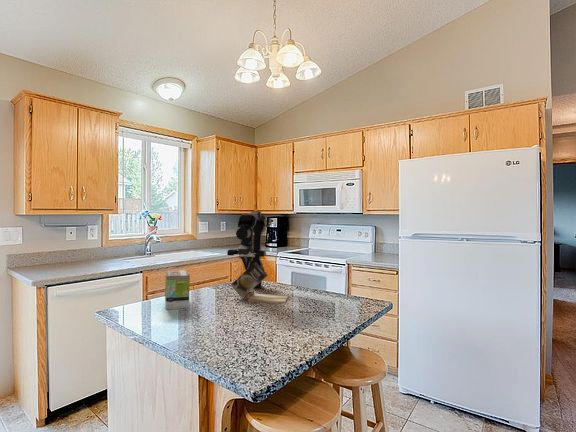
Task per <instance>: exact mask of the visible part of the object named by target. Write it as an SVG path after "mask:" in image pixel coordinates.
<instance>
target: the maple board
mask: <svg viewBox="0 0 576 432" xmlns="http://www.w3.org/2000/svg"><path fill="white" fill-rule="evenodd" d="M287 298H288V299H289V294H271V293H254V294H253V295H252V296H251V297H250V298H249V299H248V301H247V302H249V303H263V304H264V303H265V304H266V303H267V304H282V303H285V304H286V302H287V301H288V299H287Z"/></svg>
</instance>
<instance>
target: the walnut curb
mask: <svg viewBox="0 0 576 432" xmlns="http://www.w3.org/2000/svg"><path fill="white" fill-rule="evenodd" d="M253 294H255V289H252V290H251V291H250V292H249V293H248V294H247V295H245V296H244V302H248V299H249V298H250V297H251V296H252V295H253Z"/></svg>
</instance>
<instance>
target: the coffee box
mask: <svg viewBox="0 0 576 432" xmlns="http://www.w3.org/2000/svg"><path fill="white" fill-rule="evenodd" d="M264 270H265V269H264ZM264 270H263V269H262V268H261V267H260V266H259V264H258V263H257V262H255V263H254V264H253V265H252V266H250V267H249V268H248V269H247V270H245V271H244V272H243V273H242V274H241V275H239V276H238V277H237V278H236V279H235V280H234V281H233V282H232V283H230V286H231V287H232V288H233V290H234V291H235V292H236V293H237V295H239V296H240V298H241V299H243V298H245V295H247V294H248V293H249V292H250V291H251V290H254V289H253V288H254V287H255V286H257V285H258V284H259V283H260V282H261V281H264V279H266V278H267V277H268V274H267V272H266V270H265V271H264Z"/></svg>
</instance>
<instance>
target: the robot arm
mask: <svg viewBox="0 0 576 432" xmlns="http://www.w3.org/2000/svg"><path fill="white" fill-rule="evenodd" d="M238 219H239V220H238V222H237V228H238V229H237V230H236V232H235V236H236V238H237V239H239V240H241V241H240V245H239V246H238V248H230V249H228V250H227V251H226V254H227V255H226V256H235V255H238V258H240V259H241V261H242V263H243V266H244V269H245V271H246V270H247V269H248V268H249V267H250V266H252V265H253V264H254V263H255V262H257V263H258V264H259V266H260V267H261V268H262V269H263V270H264V271H265V272H266V270H265V267H264V264H263V261H262V260H261V259H262V257H267V251H266V250H265V249H262V243H263V242H262V240H263V239H262V238H263V233H265V231H266V228H267V219H266V216H264V214H262V212H261V211H259V210H253V211H251V212H250V213H241V215H240V216H239V218H238ZM262 281H263V280H262ZM262 281H261V282H260V283H259V284H258V285H257V286H255V287H254V288H253V289H252V290H261V289H263V287H264V285H262Z"/></svg>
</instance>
